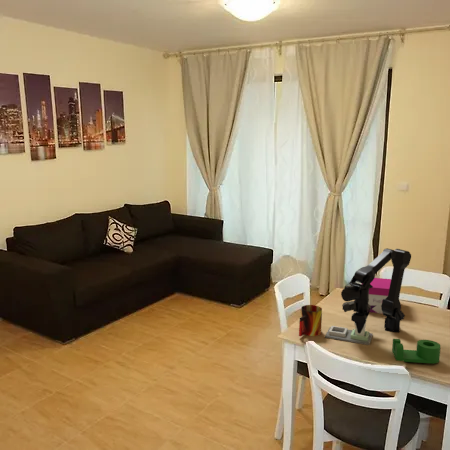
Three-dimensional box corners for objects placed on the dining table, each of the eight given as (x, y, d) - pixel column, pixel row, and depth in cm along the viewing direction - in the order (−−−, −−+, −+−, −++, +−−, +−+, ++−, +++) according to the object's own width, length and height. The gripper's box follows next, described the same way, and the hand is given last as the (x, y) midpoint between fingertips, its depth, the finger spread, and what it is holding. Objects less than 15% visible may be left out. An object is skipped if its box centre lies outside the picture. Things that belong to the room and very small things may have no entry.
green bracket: (435, 354, 195) (437, 340, 194) (442, 364, 186) (443, 349, 185) (391, 351, 198) (392, 337, 197) (396, 360, 189) (397, 346, 188)
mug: (298, 338, 211) (299, 314, 208) (301, 327, 224) (302, 304, 222) (320, 340, 208) (320, 316, 206) (321, 329, 221) (322, 305, 219)
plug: (365, 335, 212) (365, 319, 210) (363, 338, 208) (364, 322, 207) (354, 333, 214) (355, 317, 212) (353, 337, 210) (354, 320, 209)
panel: (372, 335, 214) (372, 330, 214) (369, 345, 203) (369, 340, 203) (330, 328, 222) (330, 323, 222) (324, 337, 212) (325, 332, 211)
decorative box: (360, 313, 242) (361, 286, 240) (360, 302, 260) (362, 276, 257) (398, 317, 237) (399, 289, 234) (396, 305, 254) (397, 279, 252)
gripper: (347, 289, 219) (346, 320, 222) (340, 301, 202) (339, 334, 205) (371, 292, 215) (369, 323, 217) (366, 305, 198) (364, 338, 201)
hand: (360, 330), depth 210 cm, fingers open, 8 cm apart
